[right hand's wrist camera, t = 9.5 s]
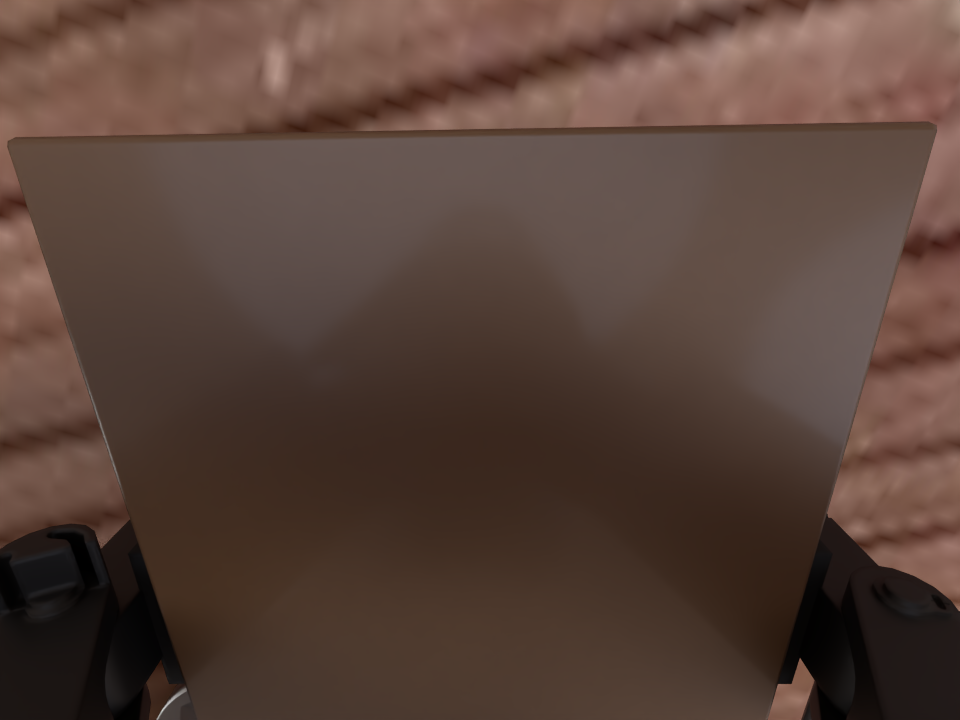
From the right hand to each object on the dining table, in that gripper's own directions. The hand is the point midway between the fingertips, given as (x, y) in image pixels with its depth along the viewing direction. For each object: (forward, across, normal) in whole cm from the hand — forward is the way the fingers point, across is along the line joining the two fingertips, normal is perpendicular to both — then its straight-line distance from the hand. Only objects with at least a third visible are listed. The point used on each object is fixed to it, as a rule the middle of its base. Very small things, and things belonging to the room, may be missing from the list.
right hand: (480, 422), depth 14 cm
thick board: (+1, 0, -29) cm, 29 cm away
